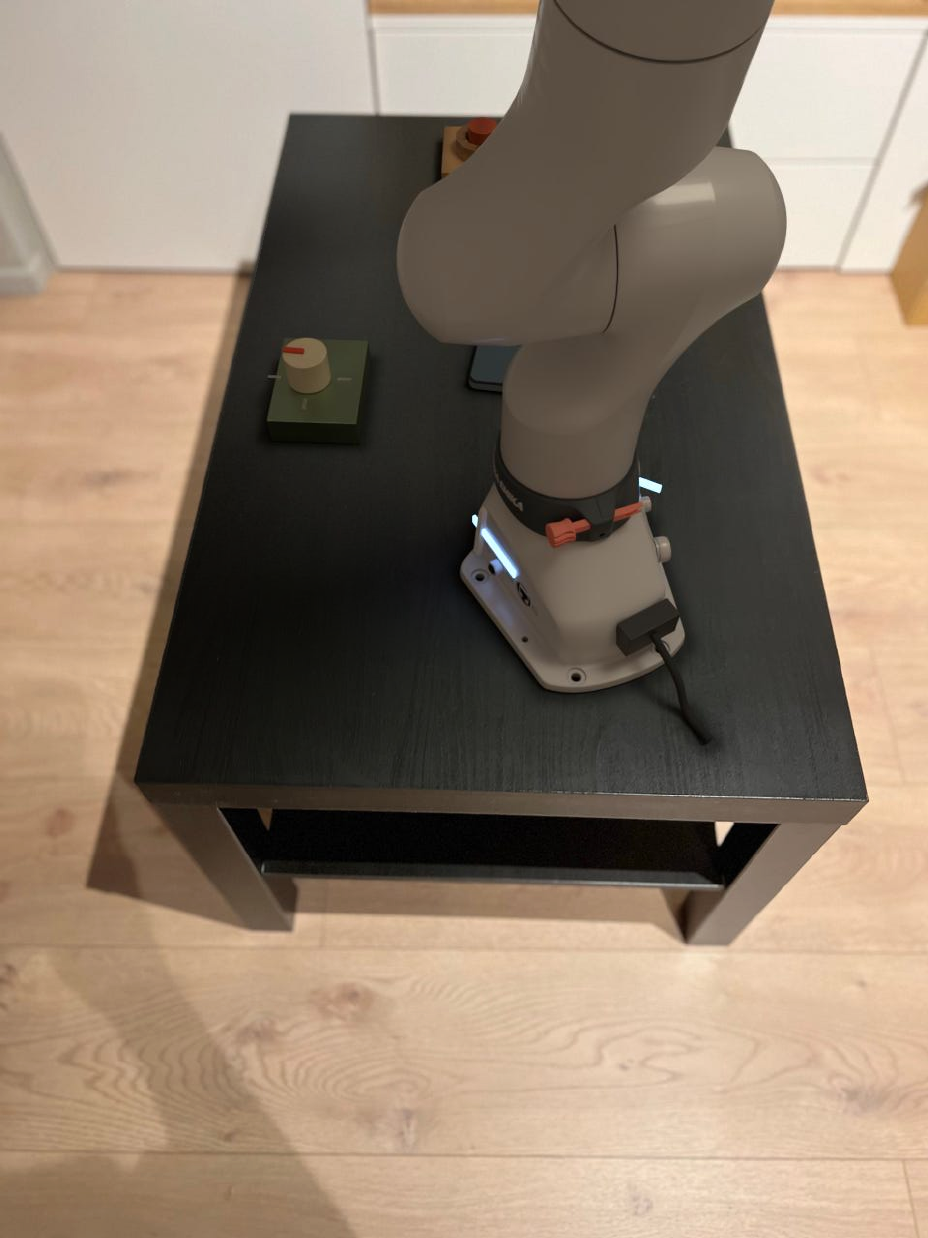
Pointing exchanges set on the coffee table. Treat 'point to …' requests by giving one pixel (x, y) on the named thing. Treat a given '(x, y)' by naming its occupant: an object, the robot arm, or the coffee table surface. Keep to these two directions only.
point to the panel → (323, 398)
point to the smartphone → (490, 366)
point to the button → (480, 130)
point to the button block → (455, 148)
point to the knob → (306, 365)
